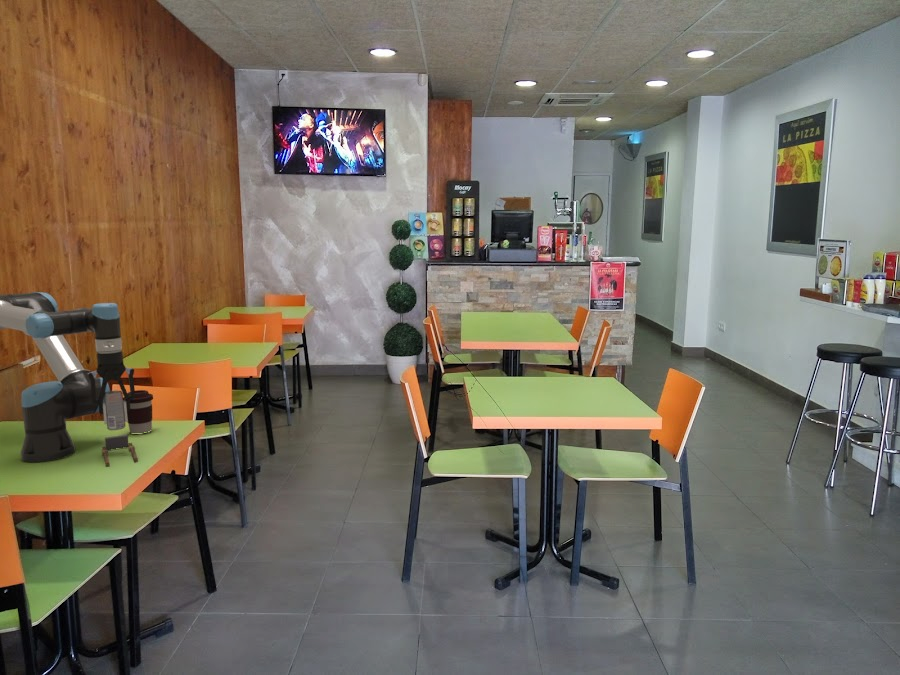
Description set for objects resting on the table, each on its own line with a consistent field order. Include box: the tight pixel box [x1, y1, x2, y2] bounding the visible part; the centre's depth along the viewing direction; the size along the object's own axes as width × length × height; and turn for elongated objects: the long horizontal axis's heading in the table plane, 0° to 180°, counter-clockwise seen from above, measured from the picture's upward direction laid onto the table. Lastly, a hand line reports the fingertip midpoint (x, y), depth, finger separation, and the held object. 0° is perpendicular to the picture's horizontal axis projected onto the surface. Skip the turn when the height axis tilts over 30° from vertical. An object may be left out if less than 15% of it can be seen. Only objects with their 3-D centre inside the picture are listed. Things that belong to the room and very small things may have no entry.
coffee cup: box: [123, 389, 154, 433], centre depth 251 cm, size 10×10×15 cm
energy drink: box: [104, 390, 127, 431], centre depth 226 cm, size 5×5×12 cm
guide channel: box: [101, 442, 139, 468], centre depth 224 cm, size 10×20×1 cm, turn 29°
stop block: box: [104, 434, 129, 451], centre depth 233 cm, size 7×2×4 cm, turn 119°
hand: (116, 421), depth 226 cm, fingers closed on energy drink, 5 cm apart
